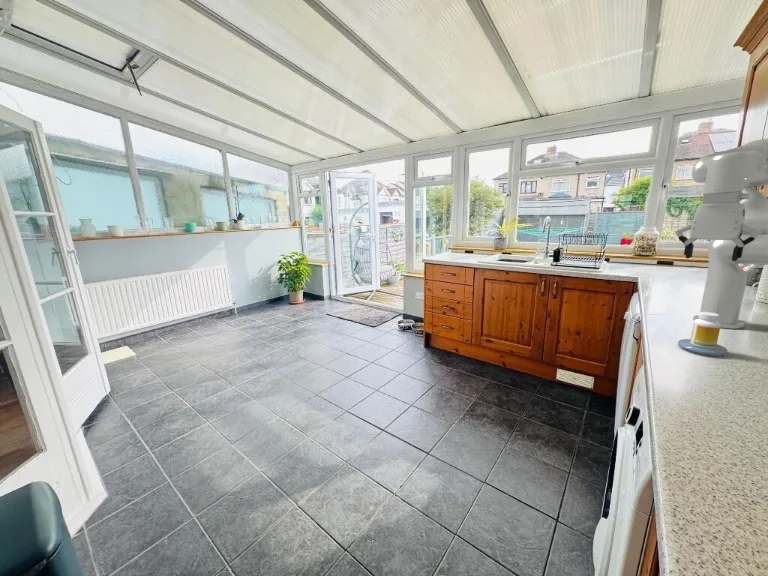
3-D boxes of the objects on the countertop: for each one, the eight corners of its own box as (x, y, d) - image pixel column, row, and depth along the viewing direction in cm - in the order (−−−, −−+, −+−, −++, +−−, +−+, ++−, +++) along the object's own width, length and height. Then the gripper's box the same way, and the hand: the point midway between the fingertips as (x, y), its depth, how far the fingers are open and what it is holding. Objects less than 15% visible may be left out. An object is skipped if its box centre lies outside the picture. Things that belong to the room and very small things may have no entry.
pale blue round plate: (684, 341, 97) (684, 336, 96) (730, 351, 88) (731, 346, 88) (672, 348, 92) (673, 344, 91) (720, 360, 83) (721, 355, 83)
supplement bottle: (721, 349, 86) (728, 316, 84) (698, 348, 88) (705, 316, 86) (706, 342, 92) (712, 311, 90) (685, 341, 93) (691, 310, 91)
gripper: (771, 196, 82) (758, 259, 86) (684, 201, 96) (676, 255, 100) (766, 197, 78) (752, 263, 82) (676, 202, 92) (668, 258, 96)
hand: (710, 259), depth 91 cm, fingers open, 9 cm apart
